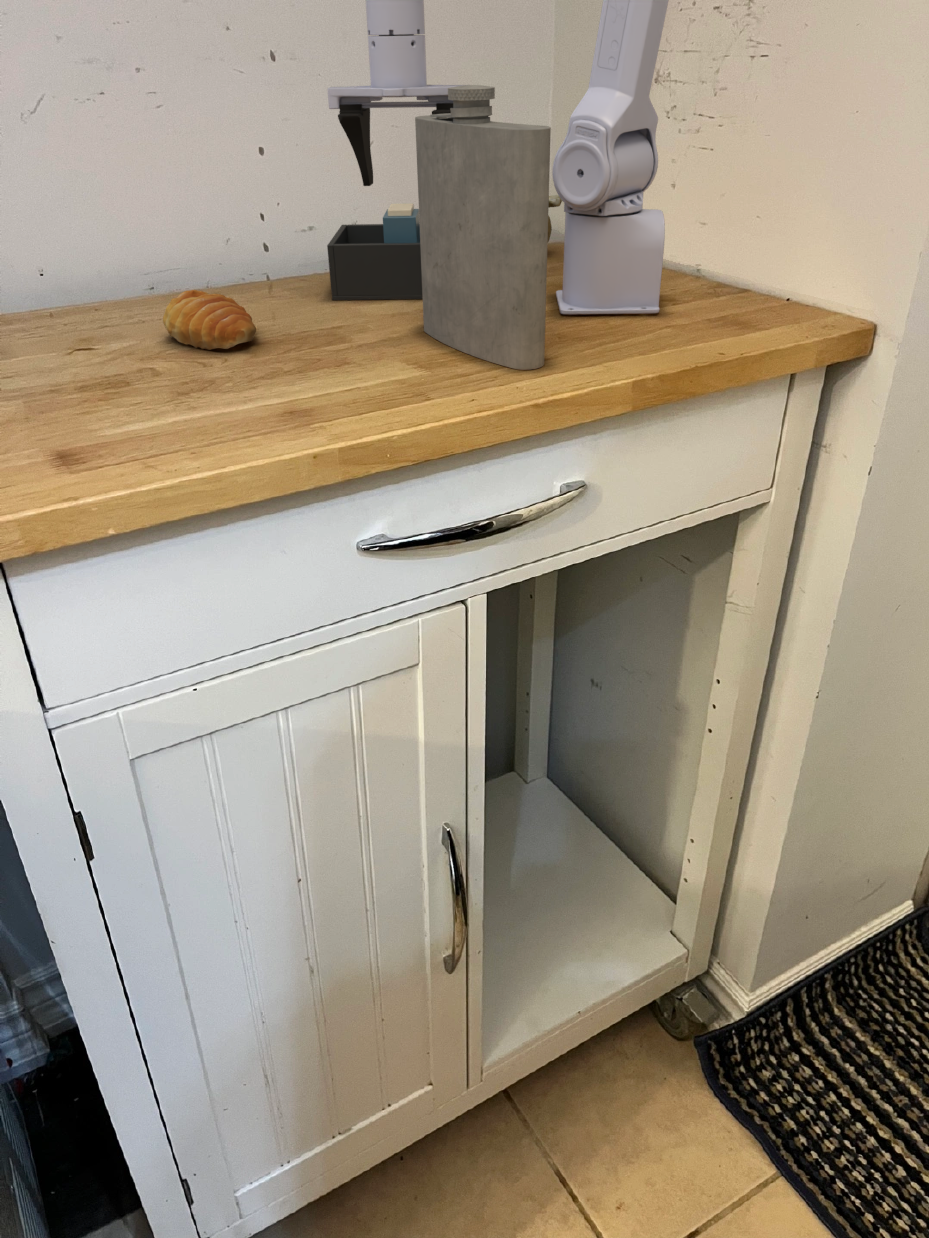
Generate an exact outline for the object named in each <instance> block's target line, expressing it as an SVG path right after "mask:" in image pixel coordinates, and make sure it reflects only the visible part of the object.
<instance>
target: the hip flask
mask: <svg viewBox="0 0 929 1238" xmlns="http://www.w3.org/2000/svg"><path fill="white" fill-rule="evenodd" d="M463 85H464V86H457V87H451V88H448V100H453V108H450V111H451V113H448V114H447V113H445V114H433V115H432V114H430V115H429V114H428V115H418V116H415V117H414V123H415V146H416V147H415V148H416V151H415V152H416V173H417V195H418V198H417V199H418V209H419V224H420V247H421V271H422V296H423V299H422V316H423V317H422V319H423V332H424V333H426V334H427V335H428V336H430V337H432V338H433V339H435V340H437V341H438V342H440V343H442V344H444V345H445V346H448V347H449V348H450V347H451V348H452V349H454V350H457V351H460V352H462V353H464V354H467V355H469V356H472V357H474V358H477V359H480V360H484V361H486V362H489V363H491V364H496V365H499V366H503V367H506V368H510V369H513V370H520V371H525V370H526V371H528V370H529V371H530V370H531V371H532V370H537V369H540V368H542V367H543V366H544V365H545V347H546V346H545V345H546V316H547V315H546V312H547V311H546V310H547V308H546V307H547V281H548V280H547V279H548V278H547V277H548V275H547V274H548V244H549V242H548V215H549V209H550V208H549V196H550V171H551V170H550V167H551V133H552V128H551V126H549V125H539V124H527V123H526V124H525V123H513V122H512V123H511V122H502V121H501V122H500V121H492V120H491V117H490V116H492V115H493V105H491V103H490V102H491V101H490V100H495V99H496V97H495V96H496V90H495V89H496V87H495V86H490V85H483V84H482V85H481V84H463Z"/></svg>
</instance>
